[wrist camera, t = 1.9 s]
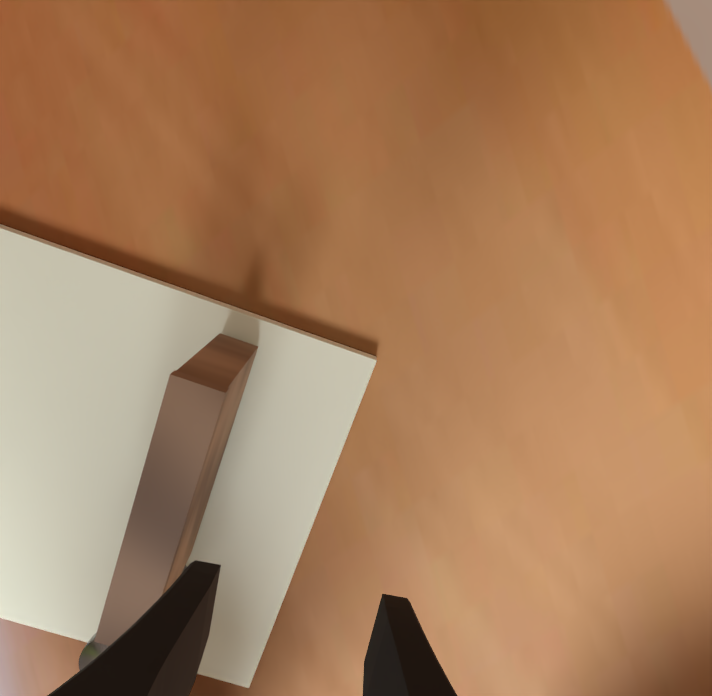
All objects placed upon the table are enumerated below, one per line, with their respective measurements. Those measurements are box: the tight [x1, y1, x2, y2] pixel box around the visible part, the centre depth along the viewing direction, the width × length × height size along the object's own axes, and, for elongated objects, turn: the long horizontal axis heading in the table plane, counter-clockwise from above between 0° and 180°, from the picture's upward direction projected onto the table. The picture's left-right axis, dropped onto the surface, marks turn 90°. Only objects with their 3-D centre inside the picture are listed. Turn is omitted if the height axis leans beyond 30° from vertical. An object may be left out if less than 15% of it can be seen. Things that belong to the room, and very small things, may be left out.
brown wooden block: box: [94, 333, 258, 646], centre depth 19 cm, size 10×2×5 cm, turn 160°
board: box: [0, 224, 377, 688], centre depth 22 cm, size 18×21×1 cm
